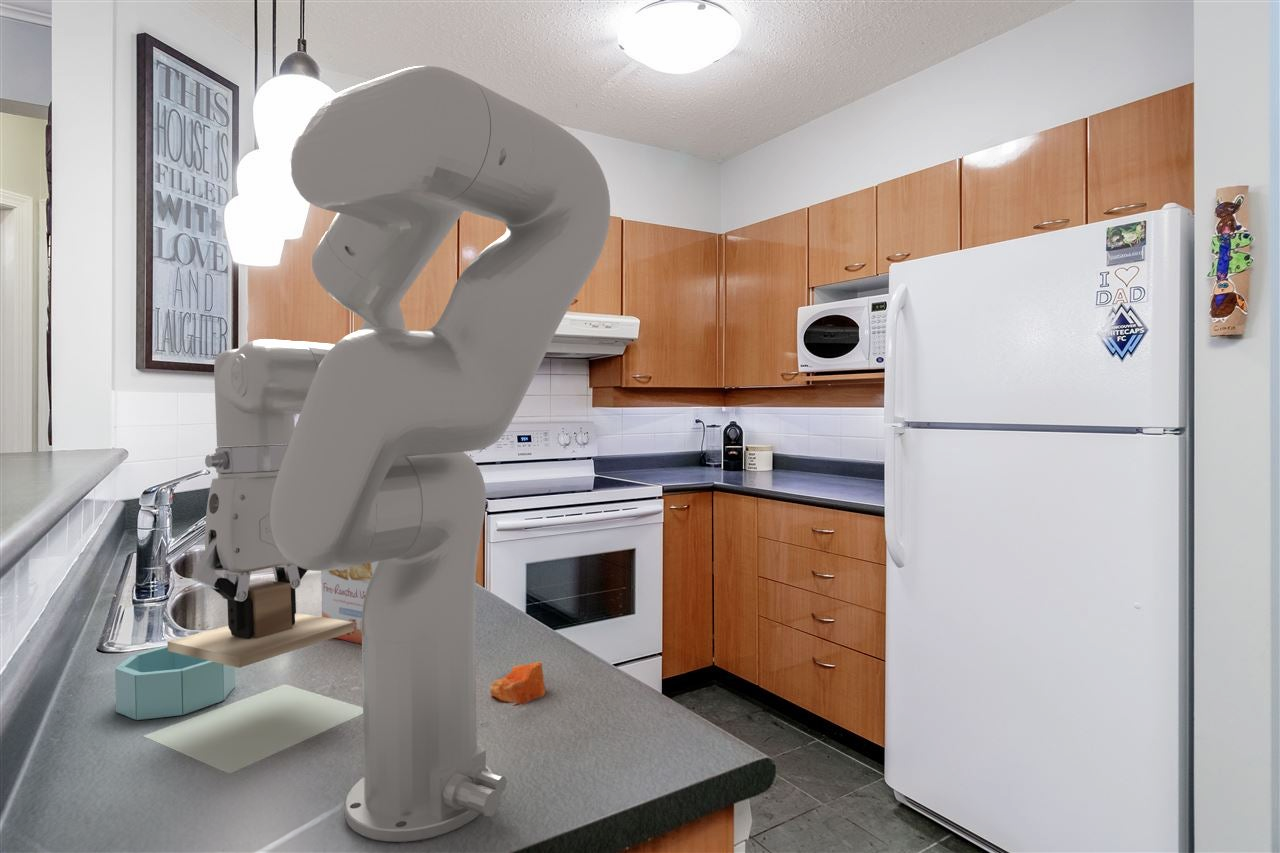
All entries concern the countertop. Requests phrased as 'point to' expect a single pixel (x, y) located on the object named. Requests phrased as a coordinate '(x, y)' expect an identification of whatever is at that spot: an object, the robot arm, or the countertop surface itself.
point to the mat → (255, 727)
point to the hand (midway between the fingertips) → (263, 628)
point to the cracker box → (346, 596)
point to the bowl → (169, 684)
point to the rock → (520, 684)
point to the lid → (262, 631)
